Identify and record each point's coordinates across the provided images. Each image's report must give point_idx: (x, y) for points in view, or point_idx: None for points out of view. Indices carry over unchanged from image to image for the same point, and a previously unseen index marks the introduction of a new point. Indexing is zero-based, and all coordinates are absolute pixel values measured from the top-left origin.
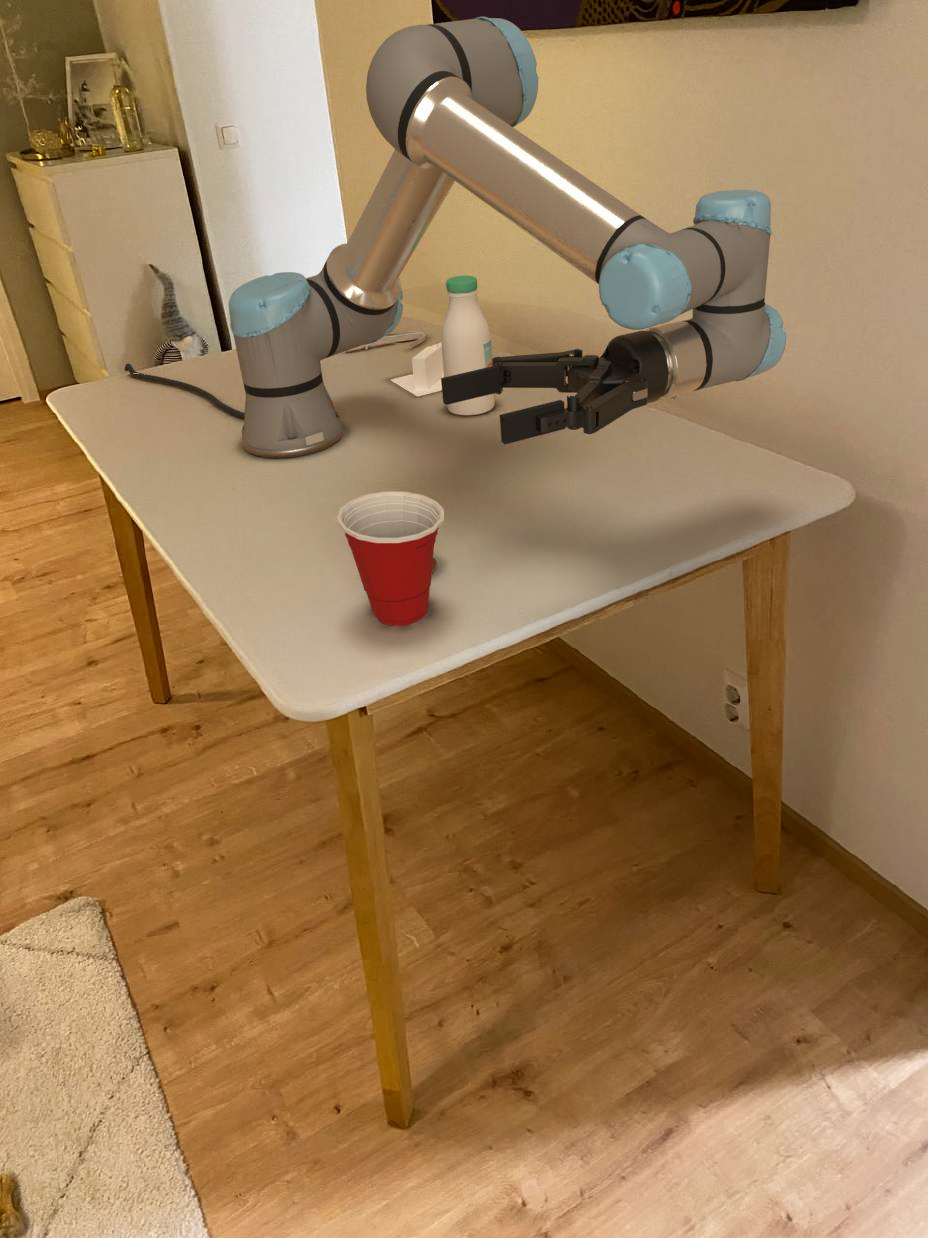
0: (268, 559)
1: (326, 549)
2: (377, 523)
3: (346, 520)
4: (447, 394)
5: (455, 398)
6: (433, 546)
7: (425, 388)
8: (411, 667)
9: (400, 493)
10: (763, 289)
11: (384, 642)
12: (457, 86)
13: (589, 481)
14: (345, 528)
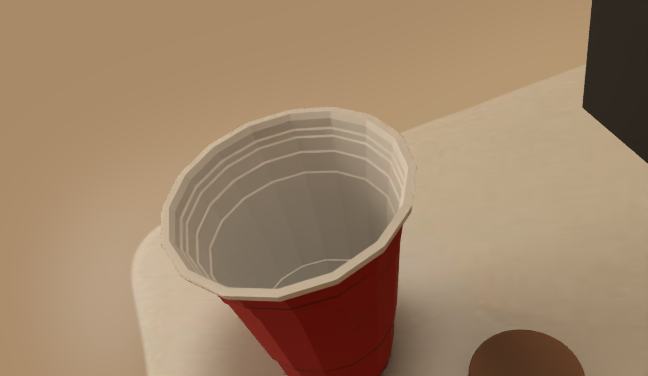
0: (589, 150)
1: (631, 221)
2: (391, 205)
3: (329, 134)
4: (595, 68)
5: (618, 115)
6: (257, 319)
7: None
8: (153, 363)
9: (403, 199)
10: None
11: None
12: None
13: None
14: (245, 126)
